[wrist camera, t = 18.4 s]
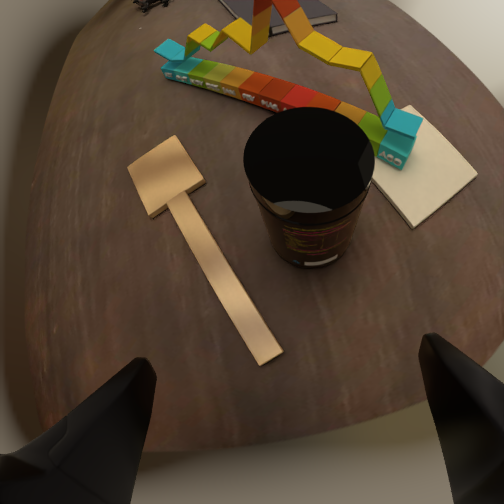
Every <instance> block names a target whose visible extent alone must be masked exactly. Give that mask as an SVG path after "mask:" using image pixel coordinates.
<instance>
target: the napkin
mask: <svg viewBox="0 0 504 504" xmlns="http://www.w3.org/2000/svg"><path fill="white" fill-rule="evenodd" d="M401 110H403V111H405V112H408V113H411V114H414V115H417V116H419V117H422V118H423V121H422V123H421V125H420V128H419V130H418V132H417V134H416V136H417V138H416V141H415V144H414V146H413V149H412V151H411V153H410V155H409V157H408V159H407V161H406V163H405V165H404V167H403V169H402V170H401V169H399V168H397V167H395V166H393V165H391V164H390V163H388V162H386V161H384V160H382V159H380V158H378V157H376V156H375V167H374V172H373V176H372V179H371V181H372V182H373V183H374V184H375V185H376V186H377V188H378V189H379V190H380V191H381V192H382V193H383V194H384V196H385V197H386V198H387V199H388V200H389V202H390V203H391V204H392V205H393V206H394V208H395V209H396V210H397V211H398V212H399V214H400V215H401V216H402V217H403V219H404V220H405V221H406V222H407V224H408V225H409V226H410V227H411V229H414V228H415V227H416V226H417V225H419V224H420V223H421V222H422V221H424V220H425V219H426V218H427V217H429V216H430V215H431V214H432V213H434V212H435V211H436V210H437V209H439V208H440V207H441V206H442V205H443V204H445V203H446V202H447V201H448V200H449V199H451V198H452V197H453V196H454V195H455V194H456V193H458V192H459V191H460V190H461V189H462V188H463V187H465V186H466V185H467V184H468V183H469V182H470V181H472V180H473V179H474V178H475V177H476V176H477V172H476V171H475V170H474V169H473V168H472V167H471V165H470V164H469V163H468V162H467V161H466V160H465V159H464V158H463V156H462V155H461V154H460V153H459V152H458V151H457V150H456V149H455V148H454V147H453V146H452V145H451V144H450V143H449V142H448V141H447V139H446V138H445V137H444V136H443V135H442V134H441V133H440V132H439V131H438V130H437V129H435V128H434V127H433V126H432V125H431V124H430V123H429V122H428V121H427V120H426V119H425V118H424V117H423V116H422V115H421V114H420V113H418V112H417V111H416V110H415V109H414V108H413V107H412V106H411V105H408V106H407V107H405V108H403V109H401Z"/></svg>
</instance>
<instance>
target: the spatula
mask: <svg viewBox="0 0 504 504" xmlns="http://www.w3.org/2000/svg"><path fill="white" fill-rule="evenodd" d="M127 168H128V171H129V173H130V175H131V177H132V180H133V182H134V184H135V186H136V189H137V191H138V193H139V195H140V198H141V200H142V202H143V204H144V206H145V209H146V211H147V213H148V215H149V216H150V217H151V218H154V217H155V216H157V215H158V214H160V213H161V212H162V211H164V210H165V209H167V208H168V207H169V209H170V211H171V213H172V215H173V217H174V219H175V221H176V223H177V224H178V226H179V228H180V230H181V232H182V234H183V236H184V237H185V239H186V241H187V243H188V245H189V247H190V248H191V250H192V252H193V254H194V256H195V257H196V259H197V261H198V263H199V265H200V266H201V268H202V270H203V272H204V273H205V275H206V277H207V279H208V281H209V282H210V284H211V286H212V288H213V289H214V291H215V293H216V294H217V296H218V298H219V300H220V301H221V303H222V305H223V306H224V308H225V310H226V312H227V313H228V315H229V317H230V318H231V320H232V322H233V323H234V325H235V327H236V328H237V330H238V332H239V333H240V335H241V337H242V338H243V340H244V342H245V343H246V345H247V347H248V348H249V350H250V352H251V353H252V355H253V356H254V358H255V360H256V361H257V363H258V364H259V366H261V365H263V364H265V363H267V362H268V361H270V360H272V359H273V358H275V357H277V356H278V355H280V354H281V353H283V352H284V350H283V349H282V347H281V346H280V344H279V342H278V341H277V339H276V338H275V336H274V335H273V333H272V331H271V330H270V328H269V327H268V325H267V324H266V322H265V320H264V319H263V317H262V316H261V314H260V312H259V311H258V309H257V308H256V306H255V304H254V303H253V301H252V300H251V298H250V296H249V295H248V293H247V292H246V290H245V288H244V287H243V285H242V283H241V282H240V280H239V279H238V277H237V275H236V274H235V272H234V270H233V269H232V267H231V266H230V264H229V262H228V261H227V259H226V257H225V256H224V254H223V252H222V251H221V249H220V247H219V246H218V244H217V243H216V241H215V239H214V238H213V236H212V234H211V233H210V231H209V229H208V228H207V226H206V224H205V223H204V221H203V219H202V218H201V216H200V214H199V213H198V211H197V209H196V207H195V206H194V204H193V202H192V201H191V199H190V197H189V196H188V194H189V193H191V192H192V191H194V190H196V189H197V188H199V187H200V186H202V185H203V184H205V183H206V181H205V180H204V178H203V176H202V175H201V173H200V172H199V170H198V169H197V167H196V166H195V164H194V163H193V161H192V160H191V158H190V157H189V155H188V154H187V152H186V150H185V149H184V147H183V146H182V144H181V143H180V141H179V140H178V138H177V137H176V135H174V136H172V137H171V138H169V139H167V140H166V141H164V142H163V143H161V144H160V145H158V146H157V147H155V148H154V149H152V150H151V151H149V152H148V153H146V154H145V155H143V156H142V157H141V158H139V159H138V160H136V161H135V162H133V163H132V164H131V165H129V166H128V167H127Z"/></svg>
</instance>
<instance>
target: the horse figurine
mask: <svg viewBox="0 0 504 504" xmlns="http://www.w3.org/2000/svg"><path fill="white" fill-rule="evenodd" d="M156 1H157V2H158V1H159V0H134V2H133V3H136V2H138V3H139V4H138V3H136V4H138V5H141V7H142V8H141V9H143V11H142V12H143V13H145V12H147V8H148V7H150V6H148V5H149V4H152V3H155V2H156ZM160 1H161V2H163V3H165V4H163V6H167V5H168V4H167V3H168V1H169V0H168V1H167V0H160ZM144 9H145V10H144ZM140 29H141V28H140Z"/></svg>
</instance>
